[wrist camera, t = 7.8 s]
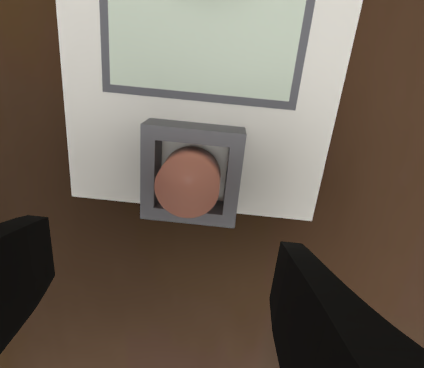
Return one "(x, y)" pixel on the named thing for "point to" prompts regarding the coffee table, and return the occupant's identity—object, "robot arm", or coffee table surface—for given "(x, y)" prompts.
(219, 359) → the coffee table surface
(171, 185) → the button
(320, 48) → the activity board
